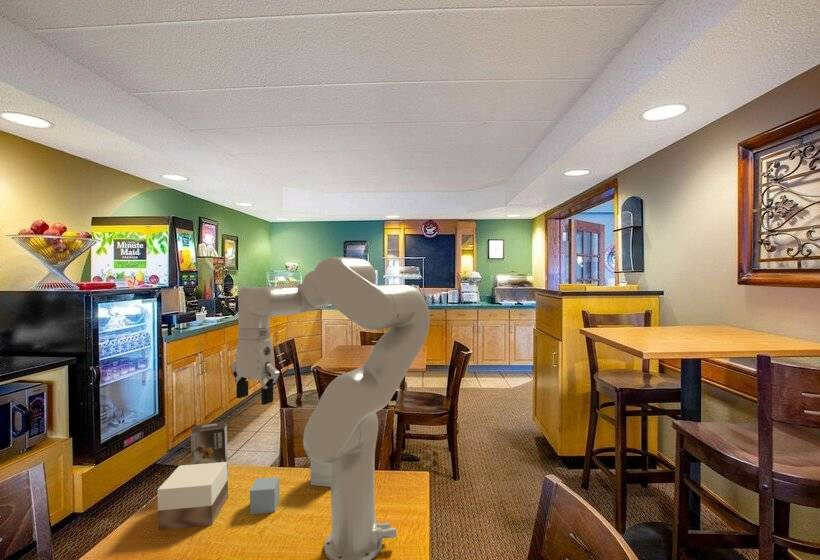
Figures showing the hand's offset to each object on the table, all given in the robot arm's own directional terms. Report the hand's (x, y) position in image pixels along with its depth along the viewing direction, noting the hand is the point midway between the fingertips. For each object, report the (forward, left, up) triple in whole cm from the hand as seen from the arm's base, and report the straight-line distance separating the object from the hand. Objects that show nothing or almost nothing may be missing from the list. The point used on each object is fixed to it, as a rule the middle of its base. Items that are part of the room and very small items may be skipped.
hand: (254, 400), depth 102 cm
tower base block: (+15, 0, -28) cm, 32 cm away
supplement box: (-17, -11, -28) cm, 35 cm away
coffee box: (+17, -16, -28) cm, 36 cm away
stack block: (-2, 0, -28) cm, 28 cm away
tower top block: (+15, 0, -23) cm, 28 cm away
